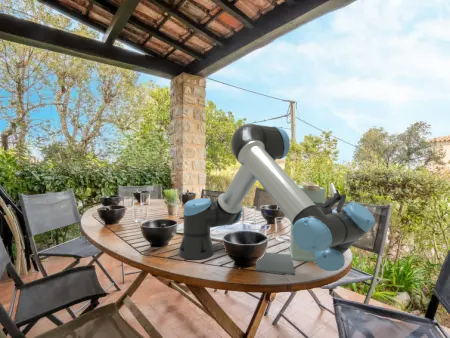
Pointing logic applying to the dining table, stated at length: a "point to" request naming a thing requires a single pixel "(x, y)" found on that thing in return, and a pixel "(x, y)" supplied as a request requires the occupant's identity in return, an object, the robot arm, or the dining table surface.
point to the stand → (293, 248)
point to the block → (310, 186)
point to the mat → (275, 263)
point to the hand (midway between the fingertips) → (312, 184)
